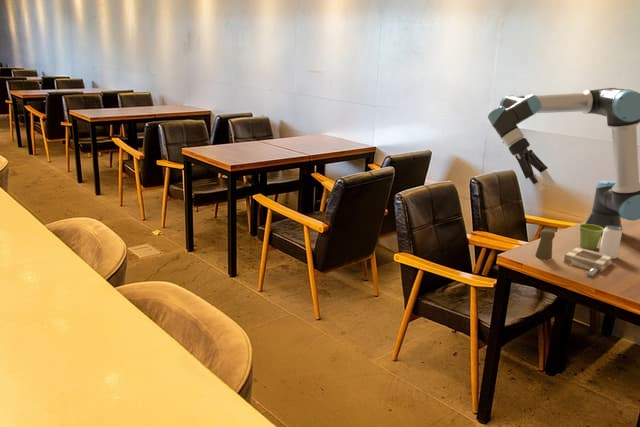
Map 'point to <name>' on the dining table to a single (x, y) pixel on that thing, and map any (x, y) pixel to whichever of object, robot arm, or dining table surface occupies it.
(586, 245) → the plant pot
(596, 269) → the steel rod
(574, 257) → the birch socket block
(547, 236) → the olive rounded piece
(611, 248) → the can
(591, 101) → the robot arm
